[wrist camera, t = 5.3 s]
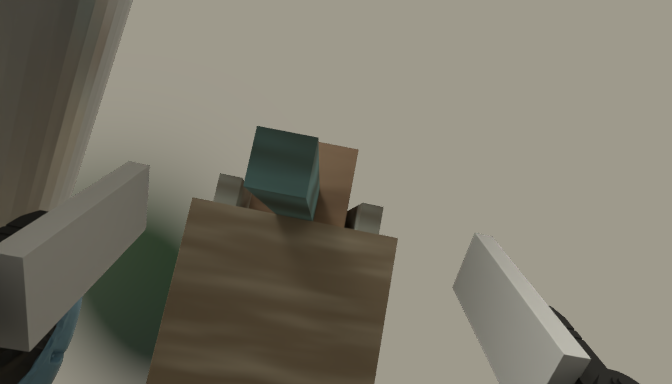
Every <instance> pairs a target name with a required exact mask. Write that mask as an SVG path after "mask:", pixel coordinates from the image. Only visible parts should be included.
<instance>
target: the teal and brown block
mask: <svg viewBox="0 0 672 384" xmlns="http://www.w3.org/2000/svg"><path fill="white" fill-rule="evenodd" d="M357 155H358V149H352V148H347V147H342V146H337V145H331V144H327V143H321V142H318V138H317V137H312V136H307V135H301V134H296V133H291V132H286V131H281V130H276V129H270V128H265V127H260V126H257V129H256V133H255V137H254V142H253V146H252V151H251V155H250V159H249V164H248V168H247V173H246V177H245V181H244V185H243V186H244V187H245V188H246V189H247V190H248V191H249V192H251V193H252V195H251V200H250V204H249V208H248V209H253V210H258V211H263V212H268V213H273V214H278V215H283V216H288V217H293V218H298V219H303V220H308V221H313V222H318V223H323V224H328V225H333V226H338V227H344V225H345V220H346V214H347V209H348V203H349V198H350V193H351V187H352V182H353V176H354V171H355V166H356V160H357Z"/></svg>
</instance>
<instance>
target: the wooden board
mask: <svg viewBox="0 0 672 384" xmlns="http://www.w3.org/2000/svg"><path fill="white" fill-rule="evenodd" d="M243 185H244V180H243V179H242V178H240V177H235V176H230V175H226V174H221V173H220V176H219V180H218V184H217V188H216V193H215V196H214V201H208V200H203V199H198V198H192V202H191V206H190V210H189V214H188V218H187V222H186V226H185V230H184V234H183V238H182V242H181V246H180V250H179V254H178V258H177V262H176V266H175V270H174V274H173V278H172V282H171V286H170V290H169V294H168V298H167V302H166V306H165V310H164V314H163V318H162V322H161V326H160V330H159V334H158V338H157V342H156V346H155V350H154V354H153V358H152V362H151V366H150V370H149V374H148V378H147V382H146V384H374V381H375V376H376V369H377V363H378V357H379V351H380V345H381V339H382V333H383V326H384V320H385V314H386V308H387V302H388V296H389V289H390V282H391V276H392V271H393V265H394V259H395V252H396V246H397V240H398V239H397V238H393V237H389V236H383V235H379V229H380V224H381V218H382V212H383V207H380V206H375V205H370V204H366V203H362V204H360V205H358V206H356V207H354V208H352V209H351V210H349V211H347V214H346V220H345V225H344V227H338V226H333V225H328V224H323V223H318V222H313V221H308V220H303V219H298V218H293V217H288V216H283V215H278V214H273V213H268V212H263V211H258V210H253V209H248V208H249V204H250V200H251V195H252V193H251V192H249V191H248V190H247V189H246V188H245V187H244V186H243Z"/></svg>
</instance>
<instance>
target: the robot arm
mask: <svg viewBox="0 0 672 384" xmlns="http://www.w3.org/2000/svg"><path fill="white" fill-rule="evenodd" d="M132 1H133V0H0V384H52V382H53V380H54V379H55V377H56V375H57V373H58V371H59V368H60V366H61V364H62V361H63V355H64V352H65V351H66V349H67V348H68V346H69V343H70V341H71V339H72V336H73V333H74V330H75V327H76V323H77V320H78V316H79V312H80V308H81V303H82V297H83V295H84V294H85V292H87V291H88V289H89V288H90V287H91V286H92V285H93V284H94V283H95V282H96V281H97V280H98V279H99V278H100V277H101V276H102V275H103V274H104V272H105V271H106V270H107V269H108V268H109V267H110V266H111V265H112V264H113V263H114V262H115V261H116V260H117V259H118V258H119V257H120V256H121V254H122V253H123V252H124V251H125V250H126V249H127V248H128V247H129V246H130V245H131V244H132V243H133V242H134V241H135V240H136V239H137V238H138V237H139V235H140V234H141V233H142V232H143V231H144V230H145V229H146V217H147V200H148V183H149V165H144V164H140V163H135V162H131V161H128V162H127V163H125V164H124V165H122V166H120V167H119V168H117V169H116V170H114V171H113V172H111V173H109V174H108V175H106V176H105V177H103V178H101V179H100V180H98V181H97V182H95V183H94V184H92V185H90V186H89V187H87V188H86V189H84V190H83V191H81V192H79V193H78V194H76V195H75V196H73V197H71V195H72V192H73V189H74V186H75V183H76V179H77V176H78V173H79V170H80V167H81V163H82V160H83V157H84V154H85V151H86V147H87V144H88V141H89V138H90V135H91V132H92V128H93V125H94V122H95V119H96V116H97V113H98V109H99V106H100V103H101V100H102V96H103V94H104V90H105V87H106V84H107V81H108V78H109V74H110V71H111V68H112V65H113V62H114V59H115V55H116V52H117V49H118V46H119V42H120V40H121V36H122V33H123V30H124V27H125V24H126V20H127V17H128V14H129V11H130V8H131V5H132ZM453 290H454V291H455V294H456V296H457V298H458V300H459V301H460V304H461V306H462V308H463V310H464V312H465V314H466V316H467V318H468V320H469V322H470V324H471V326H472V329H473V331H474V333H475V335H476V337H477V339H478V341H479V343H480V345H481V346H482V349H483V351H484V353H485V355H486V357H487V359H488V361H489V363H490V366H491V368H492V369H493V372H494V373H495V376H496V378H497V380H498V382H499V384H639V383H638V382H636V381H635V380H633V379H632V378H630V377H628V376H626V375H624V374H622V373H620V372H618V371H614V370H610V369H607V368H606V366H605V365H604V364H603V363H602V362H601V360H600V359H599V358H598V357H597V356H596V354H595V353H594V352H593V351H592V350H591V348H590V347H589V346H588V345H587V344H586V342H585V341H584V340H582V338H581V336H580V335H579V334H578V333H577V332H576V331H574V328H573V327H572V326H571V325H570V323H569V322H568V321H567V320H566V318H565V317H563V316H562V315H561V314H560V313H559V312H557V311H556V310H555V309H554V308H552V307H551V306H548V305H547V304H546V302H545V301H544V300H543V299H542V298H541V296H540V295H539V294H538V293H537V291H536V290H535V289H534V288H533V286H532V285H531V284H530V283H529V281H528V280H527V279H526V278H525V276H524V275H523V274H522V273H521V271H520V270H519V269H518V268H517V267H516V265H515V264H514V263H513V262H512V260H511V259H510V258H509V257H508V255H507V254H506V253H505V252H504V250H503V249H502V248H501V247H500V245H499V244H498V243H497V242H496V241H495V239H494V238H493V237H492V236H489V235H484V234H479V233H474V236H473V238H472V241H471V243H470V246H469V248H468V250H467V253H466V255H465V258H464V260H463V263H462V265H461V268H460V270H459V273H458V275H457V278H456V280H455V282H454V285H453Z"/></svg>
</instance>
